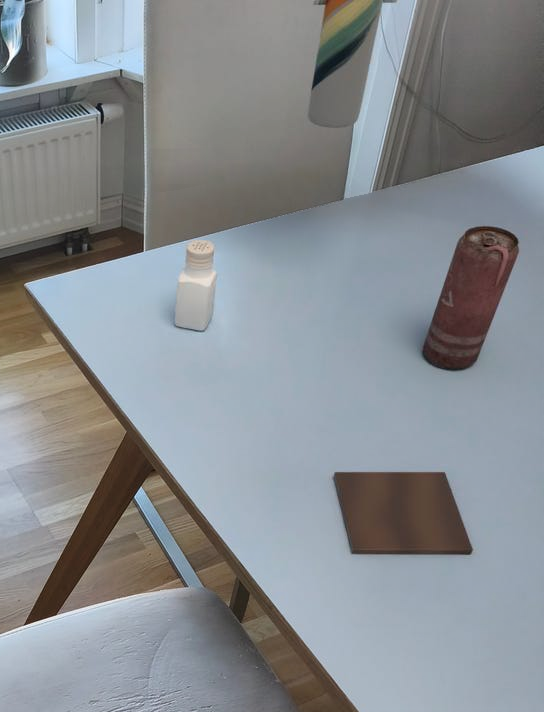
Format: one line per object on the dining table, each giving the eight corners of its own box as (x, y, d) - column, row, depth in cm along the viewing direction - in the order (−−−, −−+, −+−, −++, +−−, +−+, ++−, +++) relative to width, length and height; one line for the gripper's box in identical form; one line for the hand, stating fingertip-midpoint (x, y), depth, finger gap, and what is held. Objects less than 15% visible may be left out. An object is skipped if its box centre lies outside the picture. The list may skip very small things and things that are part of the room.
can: (446, 378, 99) (489, 258, 88) (410, 349, 103) (448, 231, 92) (489, 364, 100) (537, 245, 90) (452, 336, 104) (494, 218, 93)
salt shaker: (172, 327, 107) (178, 251, 100) (182, 310, 109) (188, 235, 102) (204, 333, 106) (212, 257, 99) (213, 316, 108) (222, 240, 101)
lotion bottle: (320, 105, 102) (358, -119, 86) (366, 114, 100) (414, -114, 84) (298, 122, 99) (334, -106, 84) (345, 133, 97) (391, -100, 81)
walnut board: (443, 476, 89) (445, 471, 88) (471, 554, 82) (473, 550, 82) (333, 476, 89) (334, 471, 89) (351, 554, 82) (353, 549, 82)
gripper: (262, -168, 86) (259, -16, 88) (475, -176, 85) (468, -23, 87) (252, -119, 92) (249, 21, 94) (450, -127, 91) (444, 16, 93)
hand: (356, 0), depth 90 cm, fingers closed on lotion bottle, 5 cm apart
